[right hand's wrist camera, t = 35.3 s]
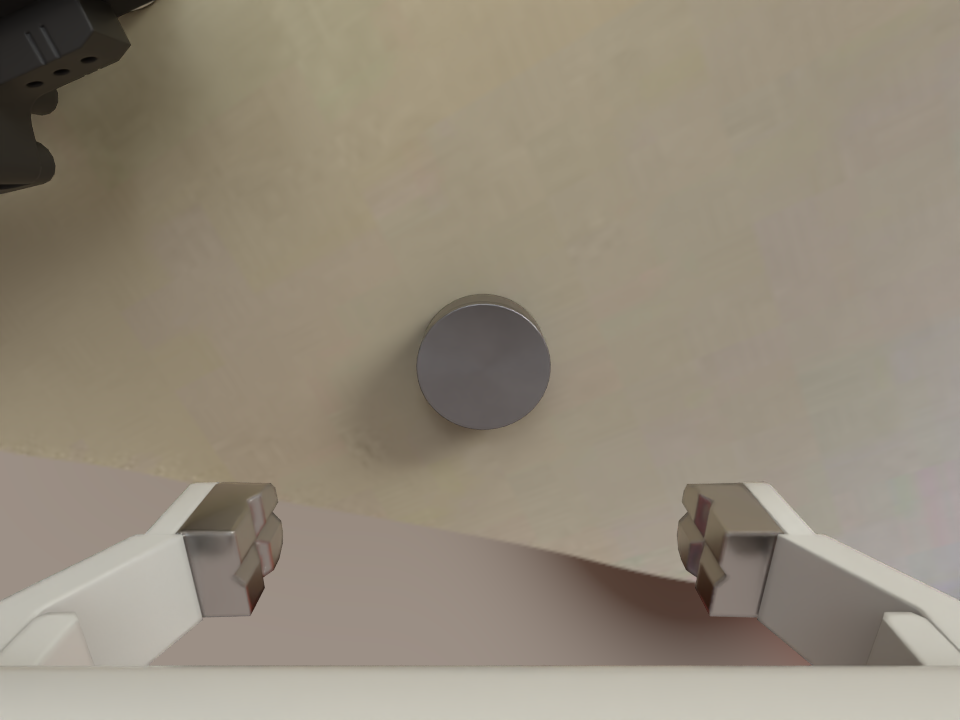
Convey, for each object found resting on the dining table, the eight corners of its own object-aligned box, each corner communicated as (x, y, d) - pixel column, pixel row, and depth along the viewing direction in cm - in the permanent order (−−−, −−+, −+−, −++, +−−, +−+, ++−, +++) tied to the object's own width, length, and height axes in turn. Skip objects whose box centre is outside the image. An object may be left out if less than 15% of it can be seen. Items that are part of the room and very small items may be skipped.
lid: (557, 305, 22) (564, 317, 20) (530, 419, 23) (534, 439, 21) (431, 283, 21) (427, 292, 19) (413, 400, 23) (407, 418, 21)
